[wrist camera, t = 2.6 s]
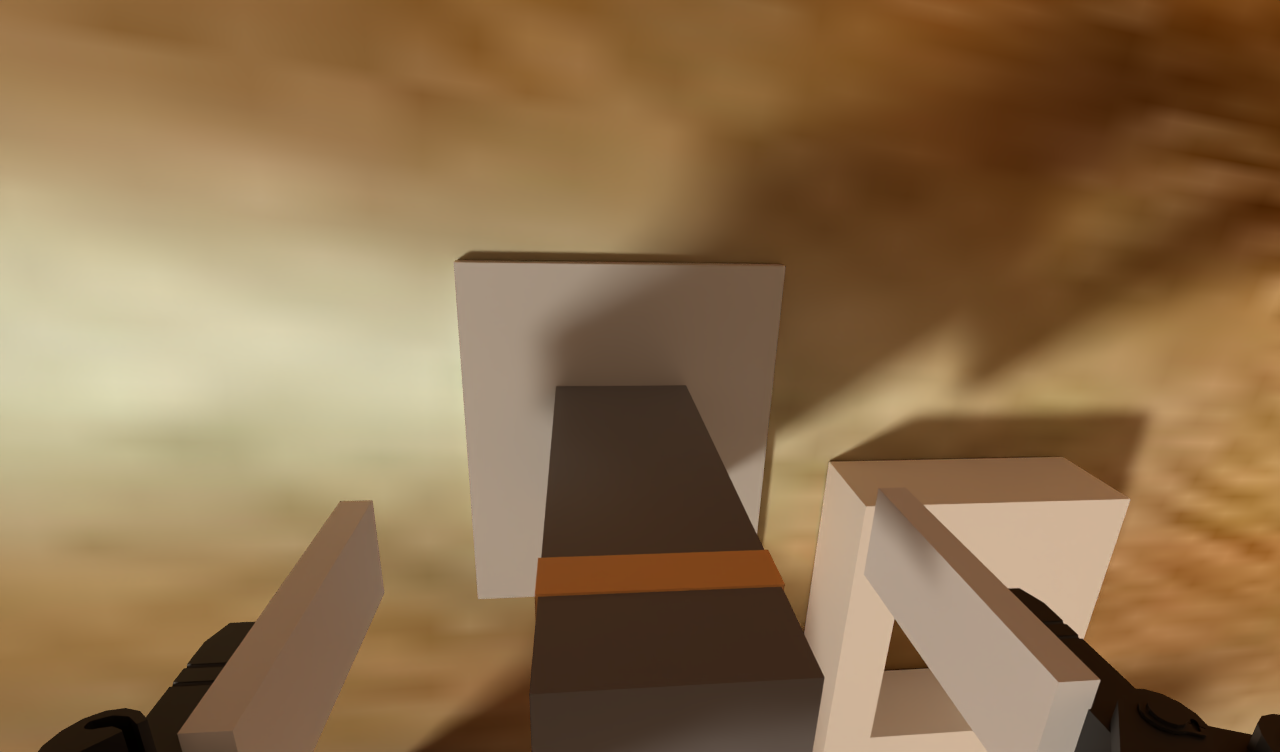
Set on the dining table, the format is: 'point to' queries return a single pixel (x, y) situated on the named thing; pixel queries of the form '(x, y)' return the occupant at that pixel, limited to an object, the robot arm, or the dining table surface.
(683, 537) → the plug
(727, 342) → the white flat slab
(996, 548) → the socket stand
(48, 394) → the dining table surface
